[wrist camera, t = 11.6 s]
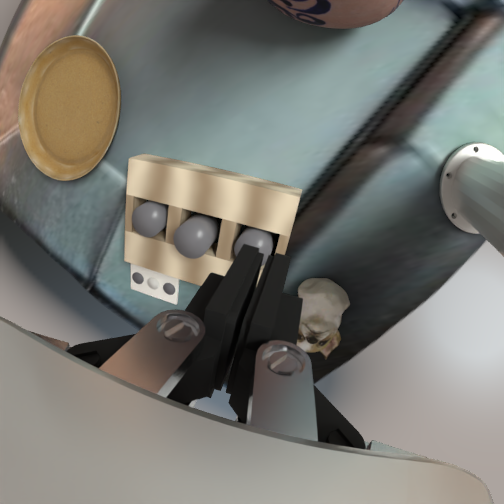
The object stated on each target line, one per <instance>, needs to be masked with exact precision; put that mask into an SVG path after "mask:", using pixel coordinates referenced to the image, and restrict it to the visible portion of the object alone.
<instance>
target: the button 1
mask: <svg viewBox="0 0 504 504" xmlns="http://www.w3.org/2000/svg"><path fill="white" fill-rule="evenodd" d="M168 208H169V205H167V204H163V203H159V202H155V201H151V200H149V201H147V202H145V203H144V204H142V205H140V206H139V207H137V208H136V209H135V210H134V212H133V214H132V223H133V226H134V228H135V230H136V231H137V232H138V233H139V234H140V235H142V236H144V237H153V236H155V235H157V234H158V233H159V232H160V231H161V230H163V229H164V228H165V227H166V226H167V218H168Z"/></svg>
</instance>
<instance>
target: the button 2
mask: <svg viewBox="0 0 504 504" xmlns="http://www.w3.org/2000/svg"><path fill="white" fill-rule="evenodd" d="M275 242H276V234H275V233H274V232H270V231H266V230H262V229H259V228H255V227H251V226H248V225H247V226H246V228H245V229H244V231H243V232H242V234H241V235H240V237H239V238H238V240H237V242H236V244H235V247H234V251H235V255H236V256H237V254H238V253H239V251H240V249H241V248H242V246H243V244H247V245H250V246H254V247H257V248H259V252H260V253H263V254H264V257H263V261H262V265H261V266H263V265H264V264H265V263H266V261H267V258H268V256H269V255H271V252H272V250H273V247H274V244H275Z"/></svg>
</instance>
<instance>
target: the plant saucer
mask: <svg viewBox="0 0 504 504" xmlns="http://www.w3.org/2000/svg"><path fill="white" fill-rule="evenodd" d="M120 108H121V90H120V82H119V78H118V74H117V71H116V68H115V65H114V63H113V61H112V59H111V58H110V56H109V54H108V53H107V52H106V51H105V49H104V48H103V47H102V46H101V45H99V44H98V43H97V42H96V41H94V40H92V39H90V38H88V37H85V36H79V35H74V36H67V37H64V38H61V39H59V40H57V41H55V42H53V43H52V44H50V45H49V46H48V47H47V48H45V49H44V50H43V51H42V52H41V53H40V55H39V56H38V57H37V58H36V59H35V61H34V62H33V64H32V66H31V67H30V69H29V71H28V73H27V75H26V77H25V80H24V83H23V86H22V89H21V93H20V98H19V107H18V122H19V130H20V135H21V139H22V142H23V145H24V148H25V150H26V152H27V154H28V156H29V158H30V159H31V161H32V162H33V163H34V165H35V166H36V167H37V168H38V169H39V170H40V171H41V172H43V173H44V174H45V175H47V176H49V177H51V178H53V179H56V180H62V181H68V180H74V179H77V178H80V177H82V176H84V175H86V174H87V173H88V172H90V171H91V170H92V169H93V168H94V167H95V166H96V165H97V164H98V163H99V162H100V161H101V159H102V158H103V156H104V155H105V153H106V152H107V150H108V148H109V146H110V144H111V142H112V140H113V138H114V135H115V132H116V129H117V125H118V121H119V116H120Z"/></svg>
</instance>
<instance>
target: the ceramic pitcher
mask: <svg viewBox="0 0 504 504" xmlns="http://www.w3.org/2000/svg"><path fill="white" fill-rule="evenodd" d="M402 1H403V0H268V2H269V3H270V4H272V5H273V6H274V7H275V8H277V9H278V10H279V11H280V12H282V13H284V14H285V15H287V16H289V17H290V18H293V19H296V20H298V21H301V22H303V23H307V24H310V25H315V26H320V27H327V28H337V29H349V28H357V27H363V26H367V25H370V24H373V23H375V22H378V21H380V20H381V19H383V18H385V17H387V16H388V15H390V14H391V13H392V12H394V11H395V9H396V8H397V7H398V6H399V5H400V4H401V3H402Z"/></svg>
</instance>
